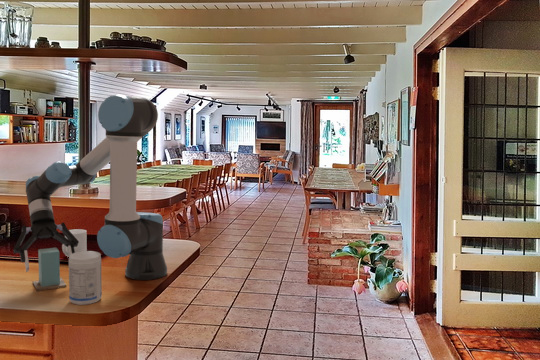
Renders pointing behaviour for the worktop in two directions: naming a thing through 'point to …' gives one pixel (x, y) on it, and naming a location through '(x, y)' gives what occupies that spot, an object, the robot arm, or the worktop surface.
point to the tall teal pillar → (49, 266)
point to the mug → (82, 239)
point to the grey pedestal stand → (39, 287)
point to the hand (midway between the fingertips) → (50, 266)
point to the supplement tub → (85, 277)
